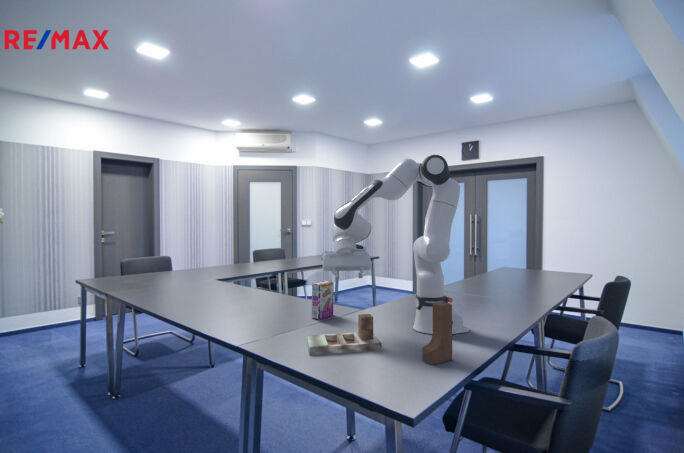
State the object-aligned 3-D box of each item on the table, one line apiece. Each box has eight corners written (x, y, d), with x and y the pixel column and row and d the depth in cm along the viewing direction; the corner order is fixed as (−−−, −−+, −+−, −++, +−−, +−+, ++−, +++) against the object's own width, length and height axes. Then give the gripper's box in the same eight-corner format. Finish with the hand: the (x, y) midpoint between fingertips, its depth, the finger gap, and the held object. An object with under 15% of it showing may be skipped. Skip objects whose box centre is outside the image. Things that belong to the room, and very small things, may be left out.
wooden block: (431, 365, 106) (431, 307, 106) (421, 360, 110) (421, 304, 110) (452, 360, 110) (452, 304, 110) (442, 355, 114) (442, 301, 114)
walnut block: (370, 335, 127) (370, 313, 127) (373, 339, 123) (373, 317, 123) (358, 336, 127) (358, 314, 127) (361, 340, 122) (361, 317, 122)
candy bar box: (319, 320, 158) (319, 284, 158) (311, 318, 161) (311, 283, 161) (334, 315, 167) (334, 281, 167) (326, 313, 170) (326, 280, 170)
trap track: (372, 338, 132) (371, 331, 132) (381, 350, 119) (381, 342, 119) (306, 342, 128) (306, 335, 128) (309, 355, 115) (309, 347, 115)
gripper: (321, 246, 142) (323, 273, 132) (369, 246, 145) (375, 272, 136) (319, 256, 146) (322, 283, 137) (366, 255, 150) (372, 281, 140)
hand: (349, 277), depth 136 cm, fingers open, 8 cm apart
